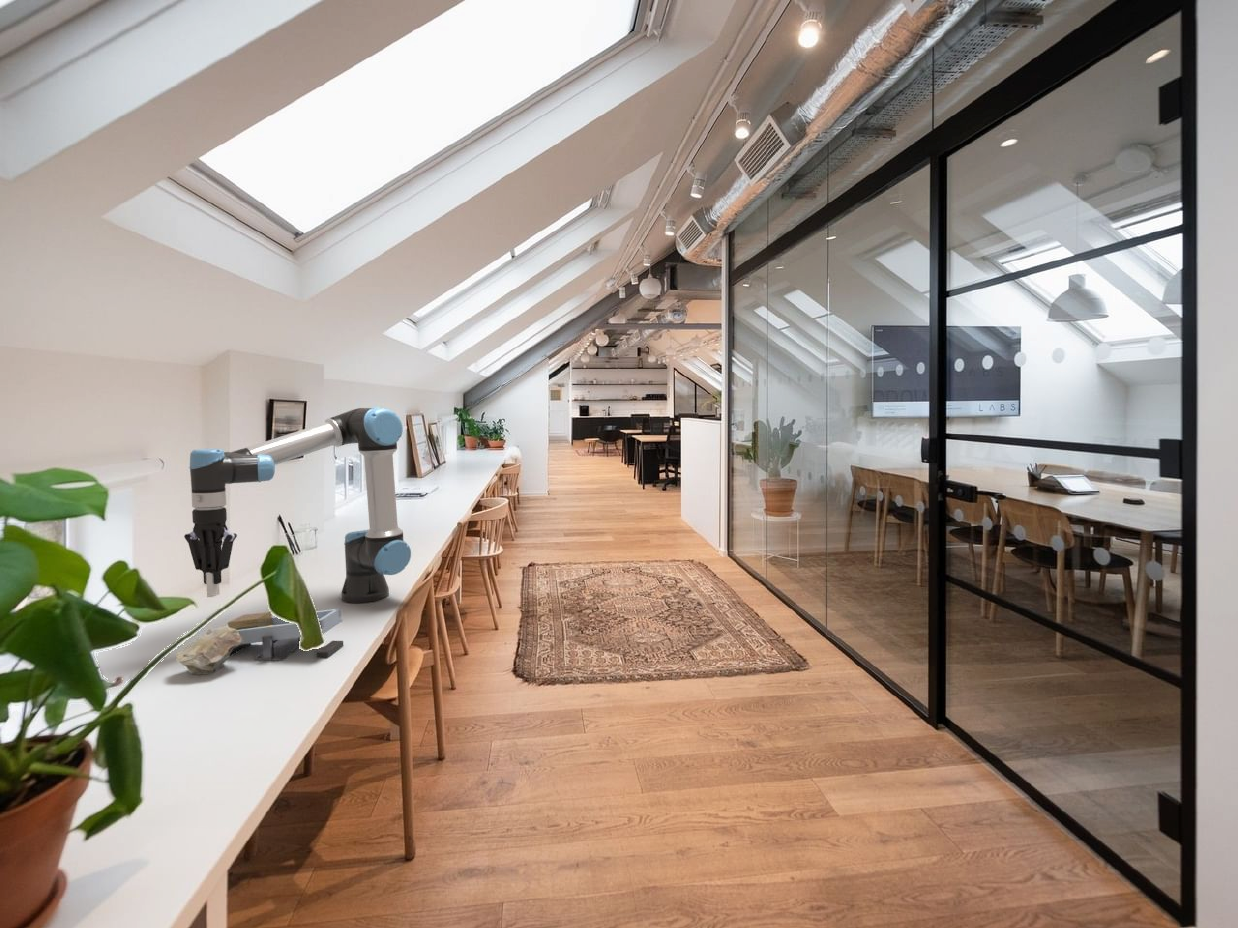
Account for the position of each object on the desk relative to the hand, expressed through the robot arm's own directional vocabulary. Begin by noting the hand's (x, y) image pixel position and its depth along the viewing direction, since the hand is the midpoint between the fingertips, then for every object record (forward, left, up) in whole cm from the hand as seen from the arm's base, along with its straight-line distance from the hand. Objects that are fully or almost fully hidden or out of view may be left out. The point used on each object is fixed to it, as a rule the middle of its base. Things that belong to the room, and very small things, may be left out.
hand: (213, 595), depth 164 cm
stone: (+14, +8, -15) cm, 22 cm away
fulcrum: (0, +18, -15) cm, 24 cm away
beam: (0, +18, -9) cm, 20 cm away
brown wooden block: (0, +10, -10) cm, 14 cm away
